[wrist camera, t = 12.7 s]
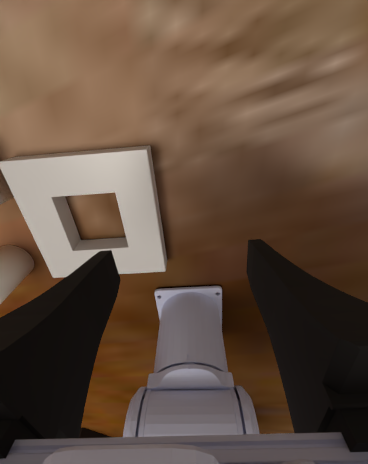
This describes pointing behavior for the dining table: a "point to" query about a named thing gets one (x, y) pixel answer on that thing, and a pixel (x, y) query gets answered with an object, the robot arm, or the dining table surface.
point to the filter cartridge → (13, 268)
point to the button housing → (4, 189)
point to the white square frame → (82, 183)
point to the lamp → (90, 434)
